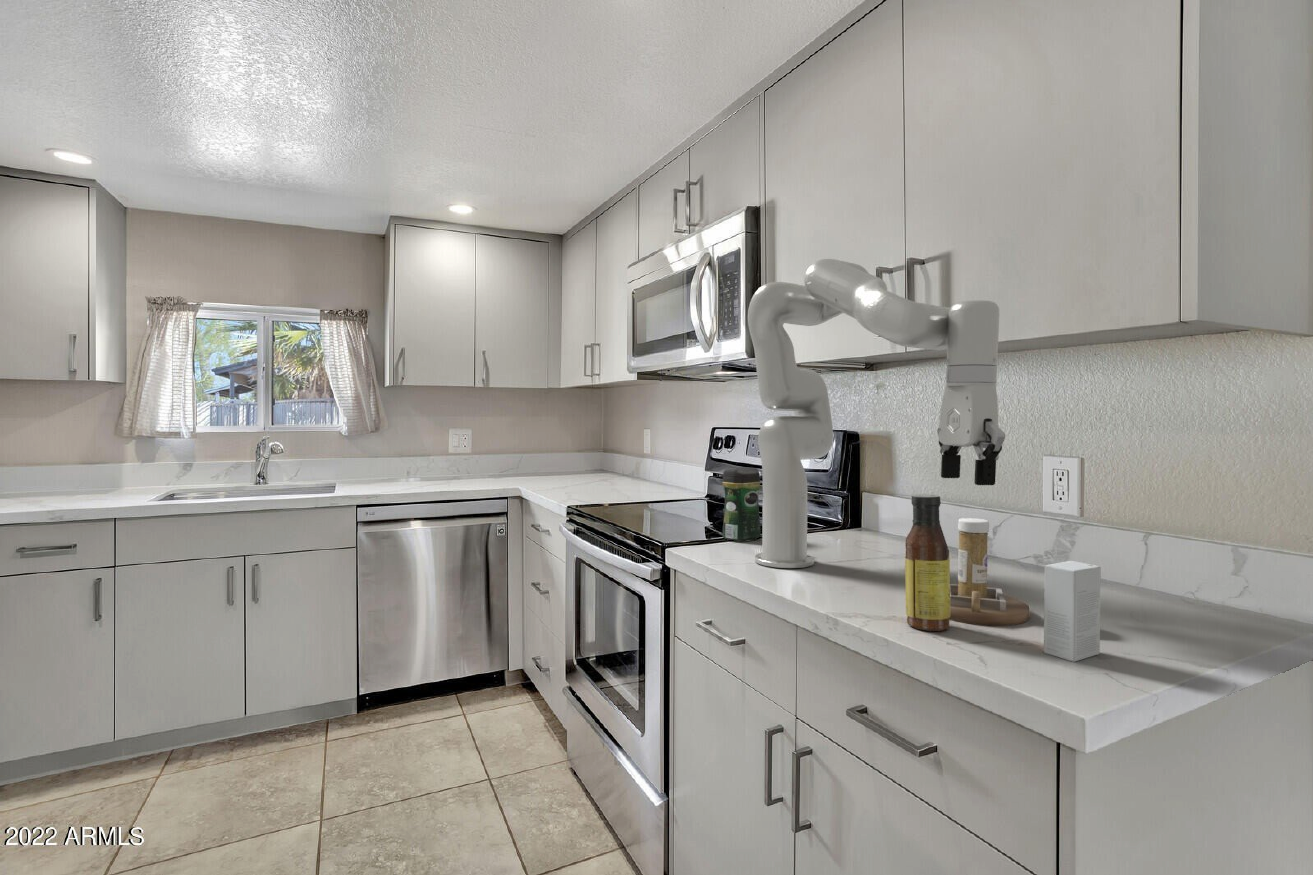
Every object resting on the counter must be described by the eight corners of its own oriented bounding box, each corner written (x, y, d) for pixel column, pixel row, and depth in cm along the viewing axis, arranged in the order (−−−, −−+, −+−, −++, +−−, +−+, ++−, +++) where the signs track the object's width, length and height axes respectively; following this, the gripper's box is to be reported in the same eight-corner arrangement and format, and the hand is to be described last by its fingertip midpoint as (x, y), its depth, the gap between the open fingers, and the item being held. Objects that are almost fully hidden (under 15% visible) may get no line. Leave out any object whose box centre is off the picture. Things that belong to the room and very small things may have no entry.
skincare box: (1067, 645, 93) (1069, 559, 92) (1100, 655, 89) (1102, 566, 89) (1041, 652, 90) (1043, 564, 90) (1073, 663, 86) (1076, 570, 86)
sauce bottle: (959, 629, 100) (961, 496, 99) (931, 635, 97) (933, 499, 96) (922, 617, 105) (924, 492, 105) (895, 623, 102) (897, 494, 102)
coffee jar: (743, 535, 178) (744, 465, 177) (765, 539, 172) (766, 467, 171) (716, 539, 172) (717, 467, 172) (738, 543, 166) (738, 469, 165)
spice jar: (987, 606, 107) (989, 522, 106) (955, 602, 109) (957, 520, 108) (987, 599, 111) (989, 518, 110) (957, 595, 113) (958, 516, 112)
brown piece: (921, 593, 120) (922, 568, 120) (1023, 603, 114) (1023, 577, 114) (919, 617, 105) (920, 589, 105) (1035, 631, 99) (1036, 600, 99)
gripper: (922, 379, 118) (918, 475, 119) (981, 375, 101) (976, 488, 102) (962, 379, 119) (958, 475, 120) (1027, 376, 102) (1022, 488, 102)
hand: (966, 481), depth 111 cm, fingers open, 9 cm apart
